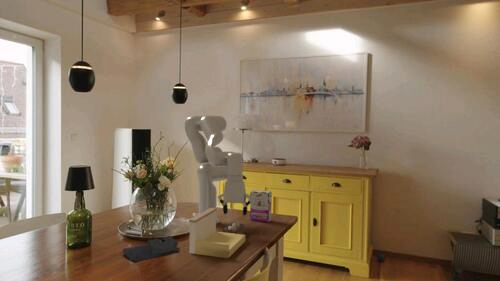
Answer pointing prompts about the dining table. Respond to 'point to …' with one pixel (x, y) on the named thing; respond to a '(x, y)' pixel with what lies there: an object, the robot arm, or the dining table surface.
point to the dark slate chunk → (152, 249)
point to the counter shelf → (212, 236)
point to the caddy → (234, 228)
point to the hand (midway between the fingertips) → (235, 214)
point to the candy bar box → (260, 206)
